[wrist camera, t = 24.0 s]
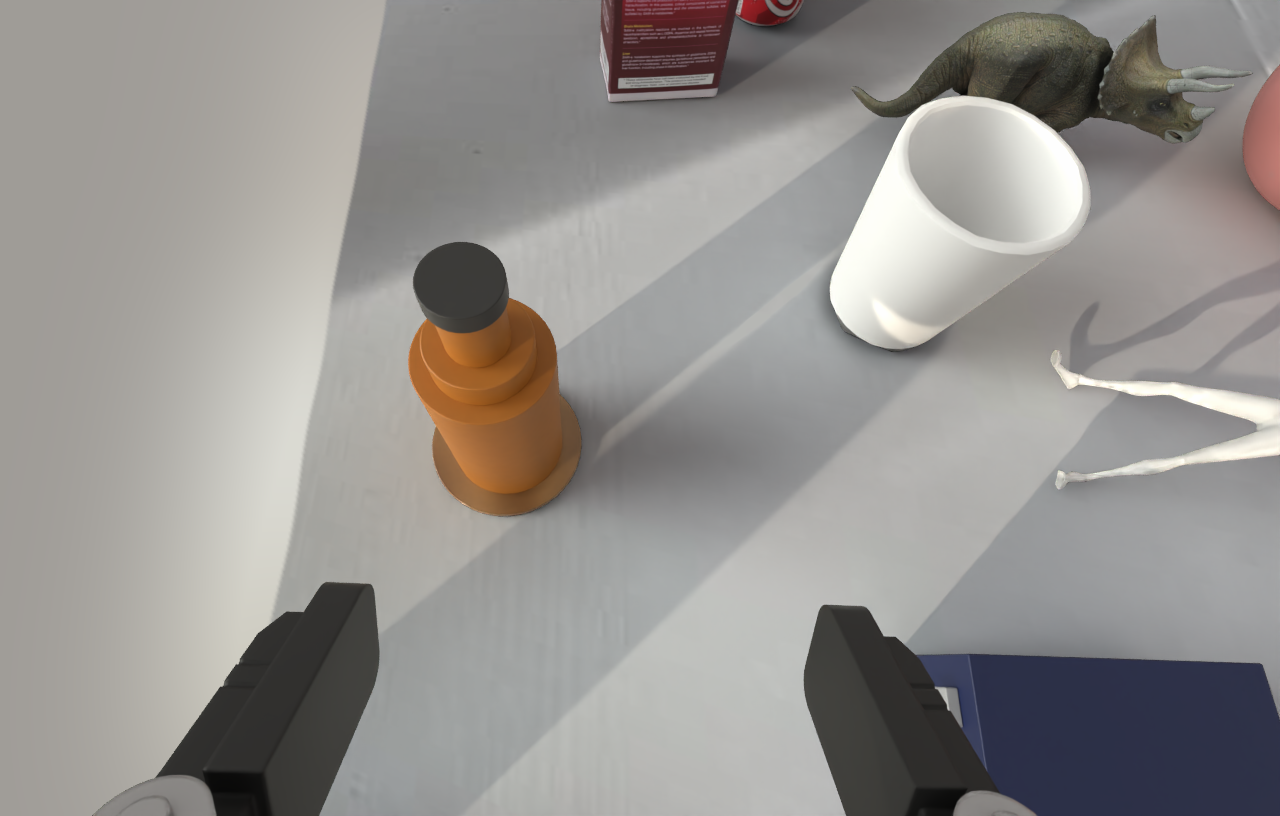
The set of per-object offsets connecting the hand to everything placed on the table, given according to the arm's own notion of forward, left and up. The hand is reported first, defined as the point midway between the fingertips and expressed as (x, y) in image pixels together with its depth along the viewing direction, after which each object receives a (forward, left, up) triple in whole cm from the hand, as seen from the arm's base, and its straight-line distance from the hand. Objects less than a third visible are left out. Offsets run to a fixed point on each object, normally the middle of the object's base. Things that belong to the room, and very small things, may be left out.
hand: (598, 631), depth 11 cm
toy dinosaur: (+43, +19, -23) cm, 53 cm away
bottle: (+1, +12, -23) cm, 26 cm away
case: (+18, -16, -23) cm, 33 cm away
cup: (+27, +10, -23) cm, 37 cm away
